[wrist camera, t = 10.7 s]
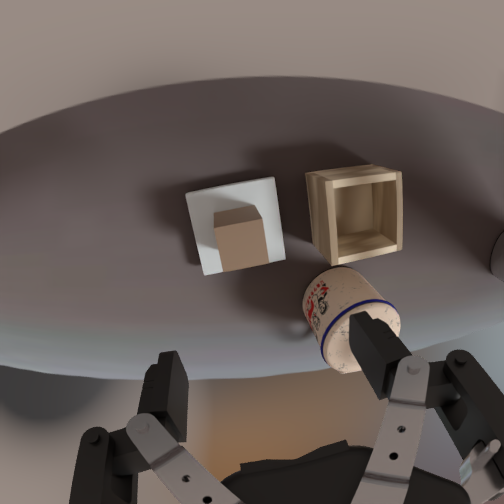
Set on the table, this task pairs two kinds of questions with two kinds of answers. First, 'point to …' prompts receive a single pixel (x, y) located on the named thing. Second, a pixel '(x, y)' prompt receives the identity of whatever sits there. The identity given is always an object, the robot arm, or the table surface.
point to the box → (355, 212)
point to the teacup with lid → (343, 313)
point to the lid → (237, 225)
